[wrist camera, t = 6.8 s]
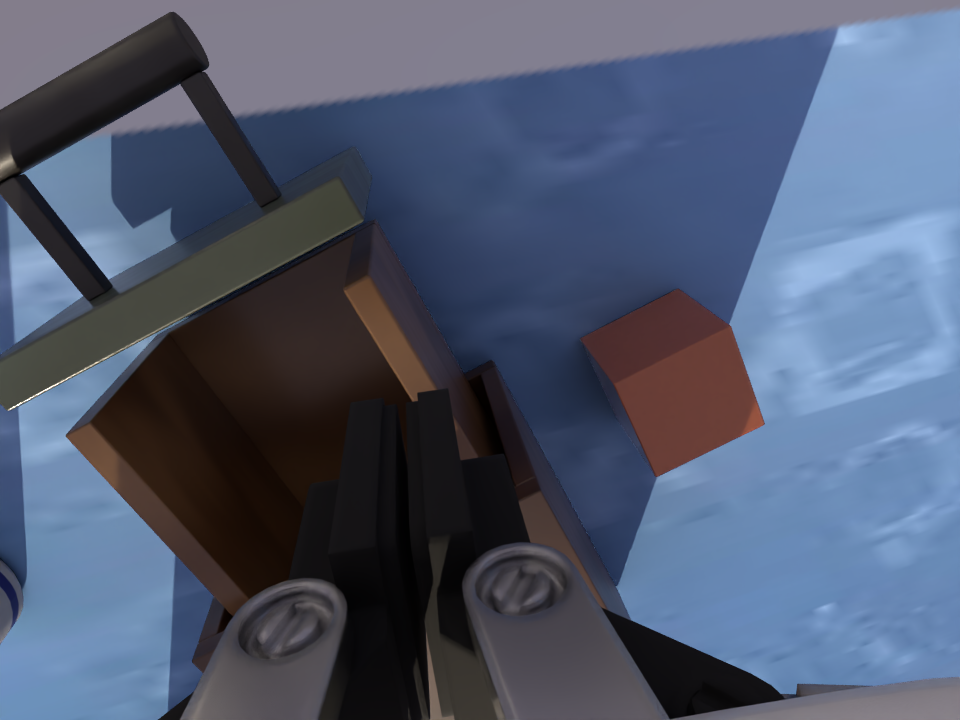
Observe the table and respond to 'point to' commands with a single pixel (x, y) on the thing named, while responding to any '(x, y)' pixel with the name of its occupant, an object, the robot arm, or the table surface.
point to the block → (674, 380)
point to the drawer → (223, 328)
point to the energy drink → (9, 600)
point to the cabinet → (538, 501)
